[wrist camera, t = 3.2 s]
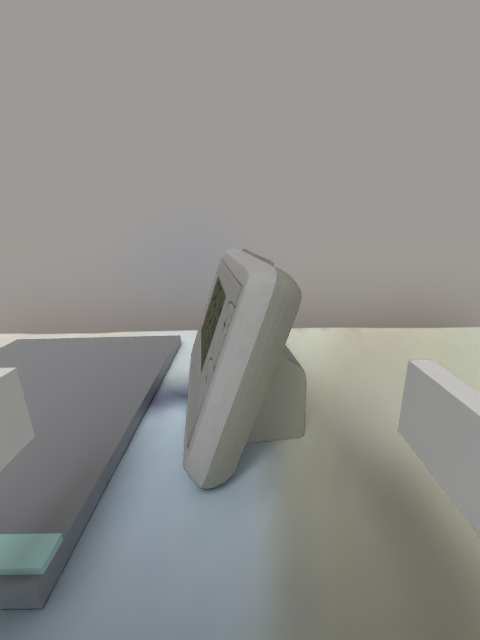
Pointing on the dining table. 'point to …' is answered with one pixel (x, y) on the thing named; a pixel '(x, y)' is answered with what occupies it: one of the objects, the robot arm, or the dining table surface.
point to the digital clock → (242, 368)
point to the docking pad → (68, 447)
